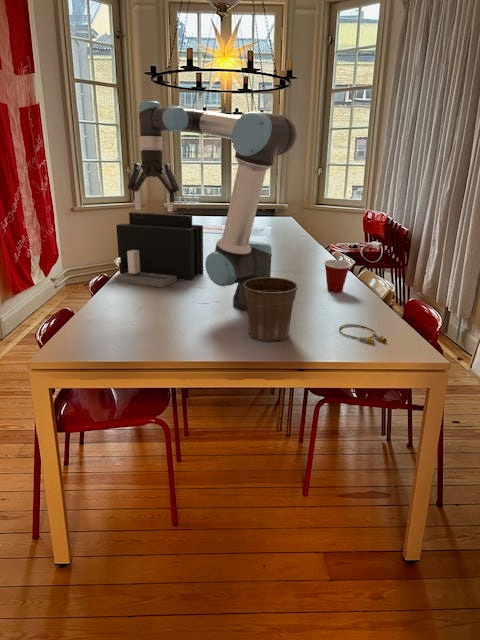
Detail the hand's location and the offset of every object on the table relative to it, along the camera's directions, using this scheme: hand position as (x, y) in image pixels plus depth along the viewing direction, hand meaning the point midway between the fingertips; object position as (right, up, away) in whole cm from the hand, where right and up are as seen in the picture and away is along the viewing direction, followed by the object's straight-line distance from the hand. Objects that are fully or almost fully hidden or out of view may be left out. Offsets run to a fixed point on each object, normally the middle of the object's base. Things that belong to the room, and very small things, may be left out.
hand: (154, 210), depth 172 cm
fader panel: (-8, -24, +26) cm, 37 cm away
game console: (-1, -17, +47) cm, 50 cm away
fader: (-14, -21, +28) cm, 37 cm away
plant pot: (+41, -46, -30) cm, 68 cm away
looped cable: (+69, -46, -29) cm, 88 cm away
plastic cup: (+71, -29, +17) cm, 78 cm away
